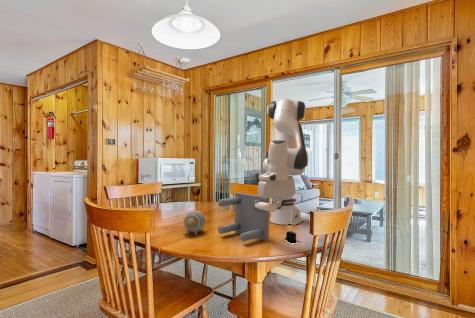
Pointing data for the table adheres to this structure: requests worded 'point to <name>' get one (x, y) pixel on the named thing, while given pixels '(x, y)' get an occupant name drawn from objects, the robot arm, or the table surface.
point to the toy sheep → (194, 222)
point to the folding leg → (264, 206)
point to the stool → (247, 217)
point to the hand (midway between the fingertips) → (277, 206)
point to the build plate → (291, 237)
